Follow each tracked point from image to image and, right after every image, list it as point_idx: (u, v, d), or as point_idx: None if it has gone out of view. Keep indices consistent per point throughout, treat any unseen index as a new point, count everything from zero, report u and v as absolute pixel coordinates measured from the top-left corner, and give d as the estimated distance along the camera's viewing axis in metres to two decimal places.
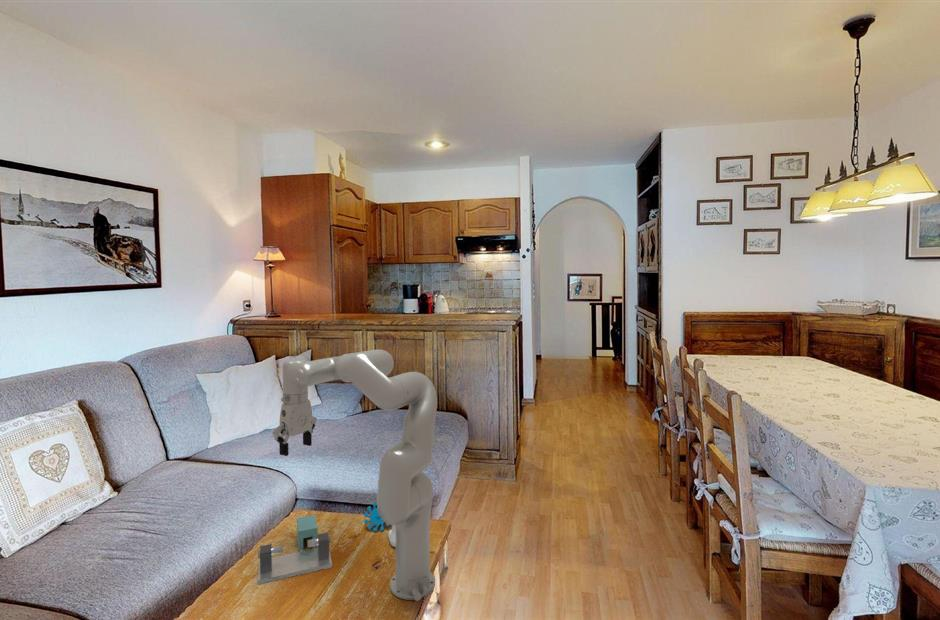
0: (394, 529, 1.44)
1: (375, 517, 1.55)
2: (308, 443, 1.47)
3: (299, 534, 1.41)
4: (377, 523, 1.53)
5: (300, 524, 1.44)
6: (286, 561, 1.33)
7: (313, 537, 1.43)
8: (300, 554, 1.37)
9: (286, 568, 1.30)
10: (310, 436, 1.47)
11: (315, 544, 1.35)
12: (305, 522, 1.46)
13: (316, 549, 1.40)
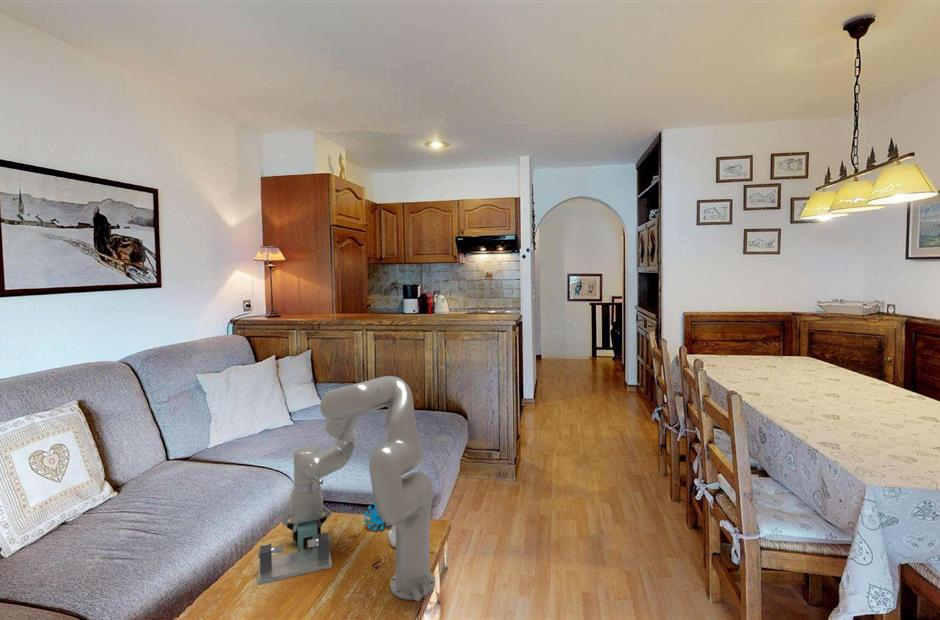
0: (394, 529, 1.44)
1: (375, 517, 1.55)
2: None
3: (299, 534, 1.41)
4: (377, 523, 1.54)
5: (300, 524, 1.44)
6: (286, 561, 1.33)
7: (313, 537, 1.43)
8: (300, 554, 1.37)
9: (286, 568, 1.30)
10: None
11: (315, 544, 1.35)
12: (305, 522, 1.46)
13: (316, 549, 1.40)
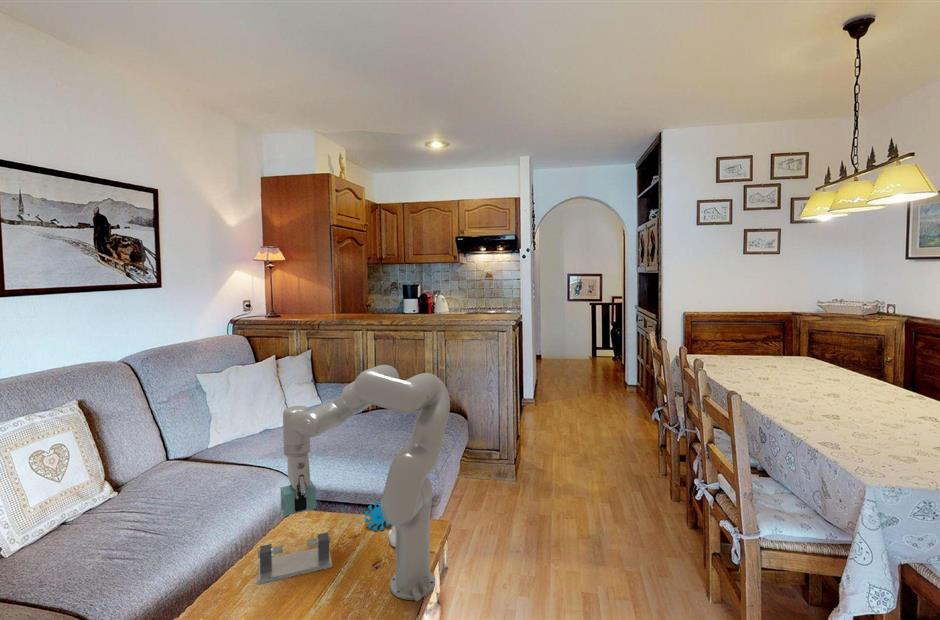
0: (394, 529, 1.44)
1: (375, 516, 1.55)
2: None
3: None
4: (377, 522, 1.54)
5: None
6: (286, 561, 1.33)
7: (283, 503, 1.32)
8: (300, 554, 1.37)
9: (286, 568, 1.30)
10: None
11: (315, 544, 1.35)
12: (299, 486, 1.36)
13: (316, 549, 1.40)
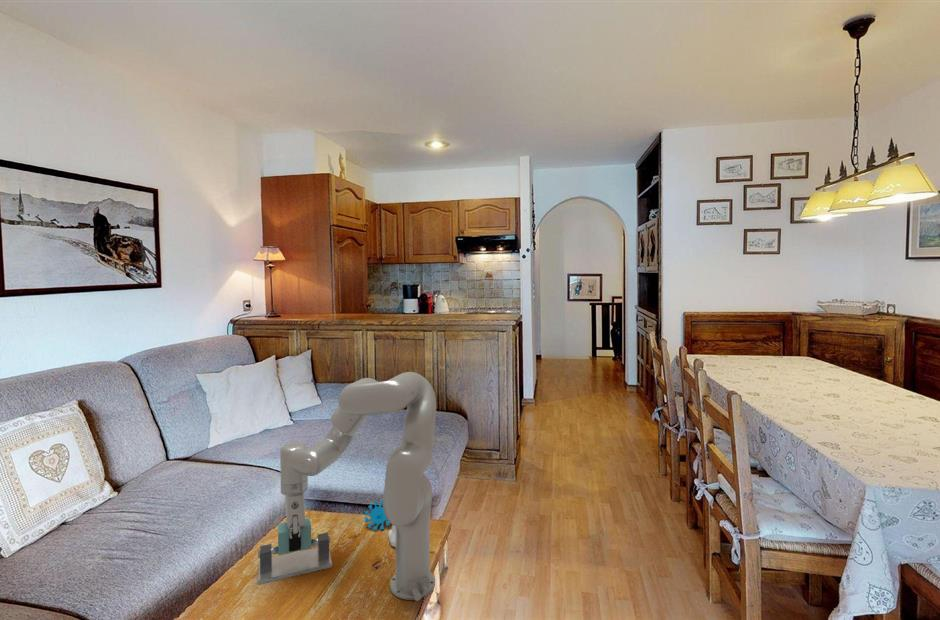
0: (394, 529, 1.44)
1: (376, 516, 1.55)
2: None
3: None
4: (377, 522, 1.54)
5: None
6: (286, 561, 1.33)
7: None
8: (300, 554, 1.37)
9: (286, 568, 1.30)
10: None
11: (315, 544, 1.35)
12: None
13: (316, 549, 1.40)
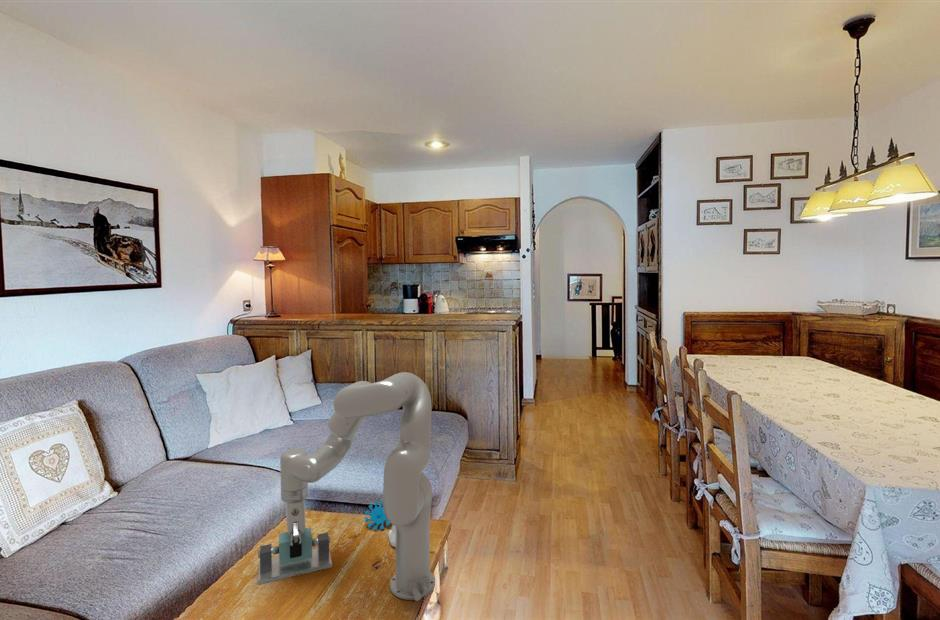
0: (394, 529, 1.44)
1: (376, 516, 1.56)
2: None
3: None
4: (377, 522, 1.54)
5: (293, 532, 1.35)
6: None
7: None
8: None
9: (286, 568, 1.30)
10: None
11: (315, 544, 1.35)
12: None
13: (316, 549, 1.40)
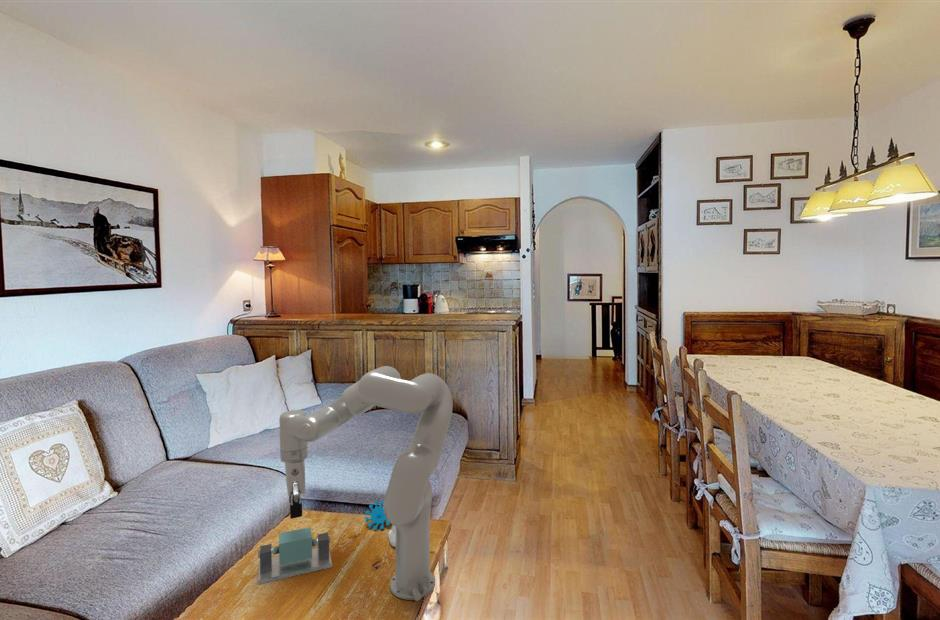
0: (394, 529, 1.44)
1: (376, 515, 1.56)
2: None
3: None
4: (377, 522, 1.54)
5: (293, 532, 1.35)
6: None
7: None
8: None
9: (286, 568, 1.30)
10: None
11: (315, 544, 1.35)
12: (297, 533, 1.34)
13: (316, 549, 1.40)
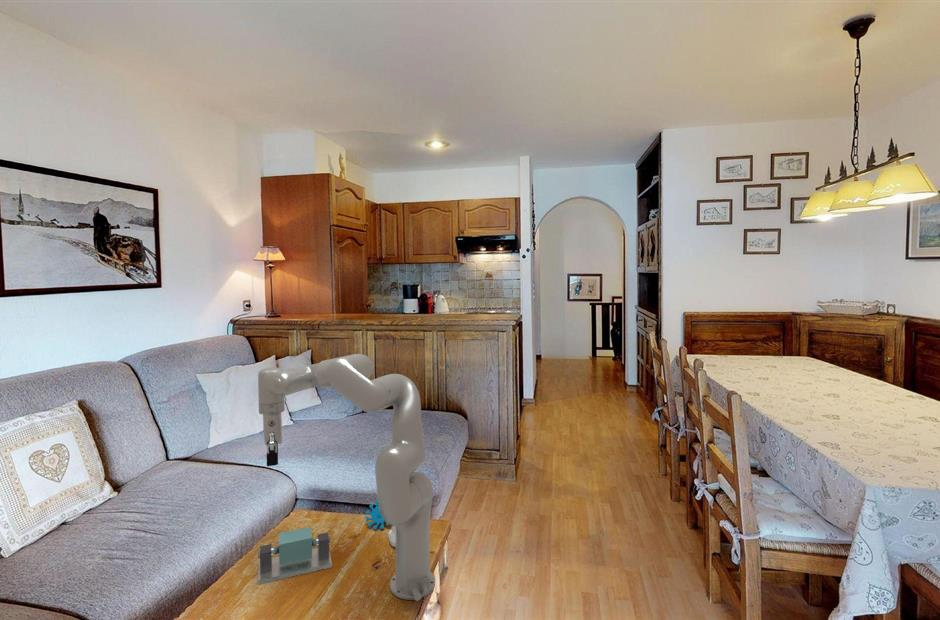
0: (394, 529, 1.44)
1: (376, 515, 1.56)
2: None
3: None
4: (377, 521, 1.55)
5: (293, 531, 1.34)
6: None
7: None
8: None
9: (286, 568, 1.30)
10: (277, 444, 1.47)
11: (315, 544, 1.35)
12: (297, 534, 1.34)
13: (316, 549, 1.40)
